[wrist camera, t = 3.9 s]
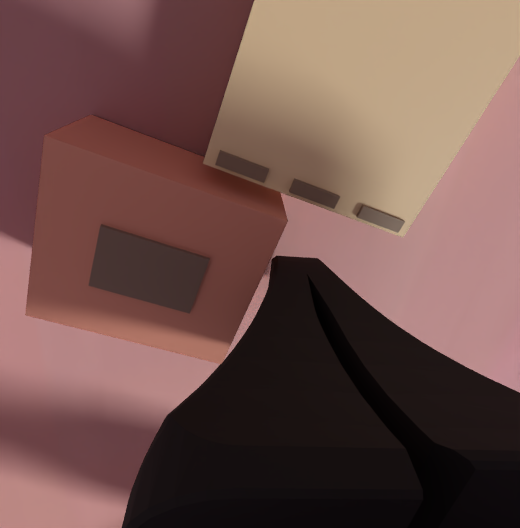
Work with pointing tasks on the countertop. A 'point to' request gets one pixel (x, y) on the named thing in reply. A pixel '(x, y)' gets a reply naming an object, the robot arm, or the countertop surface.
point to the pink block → (147, 240)
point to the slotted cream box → (361, 99)
